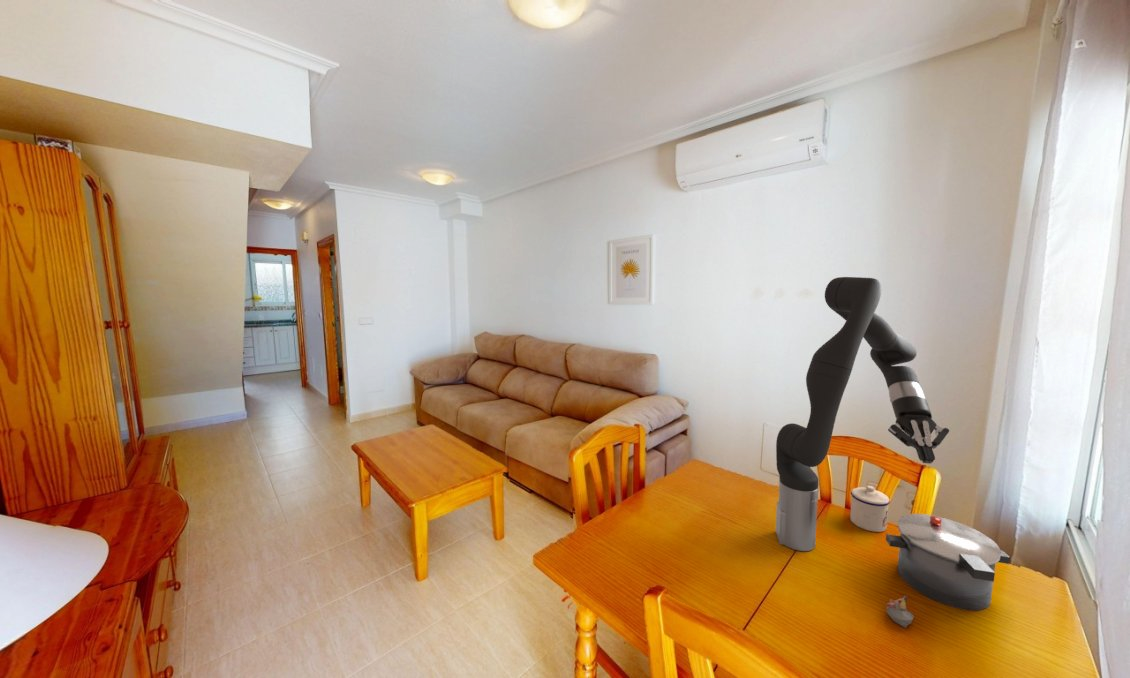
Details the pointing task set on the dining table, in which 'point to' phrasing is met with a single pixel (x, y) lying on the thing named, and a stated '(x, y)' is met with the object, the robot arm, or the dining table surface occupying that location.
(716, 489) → the dining table surface
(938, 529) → the lid
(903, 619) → the figurine
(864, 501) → the white lidded canister
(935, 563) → the pot
